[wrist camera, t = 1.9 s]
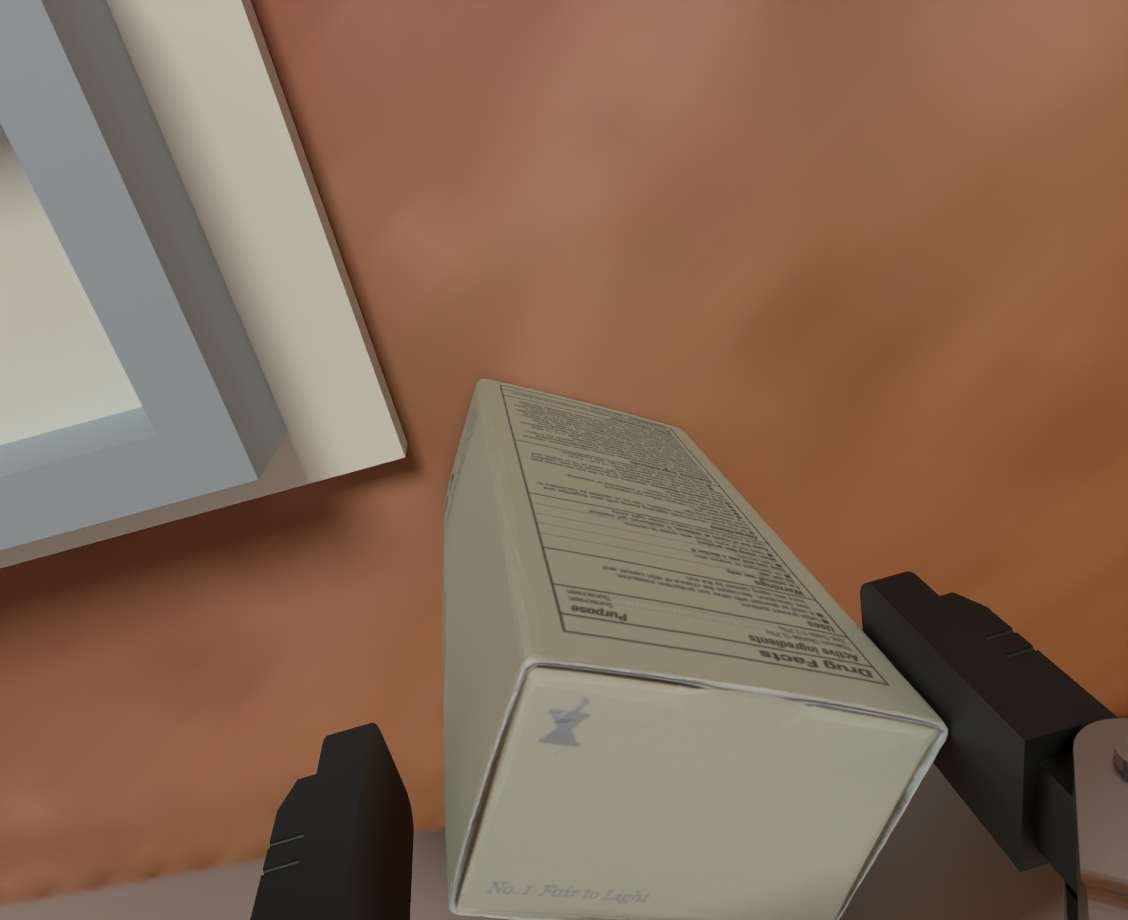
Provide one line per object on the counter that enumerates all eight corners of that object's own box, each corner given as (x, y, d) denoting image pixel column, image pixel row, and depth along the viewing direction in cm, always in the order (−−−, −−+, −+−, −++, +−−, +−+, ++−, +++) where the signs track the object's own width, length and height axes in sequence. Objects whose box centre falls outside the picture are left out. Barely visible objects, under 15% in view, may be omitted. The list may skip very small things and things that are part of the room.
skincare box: (439, 514, 21) (419, 923, 10) (479, 366, 20) (507, 652, 9) (646, 558, 23) (828, 958, 11) (697, 422, 21) (966, 731, 10)
